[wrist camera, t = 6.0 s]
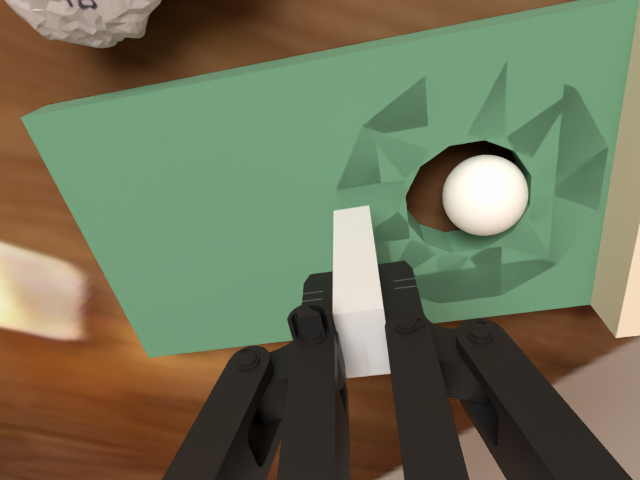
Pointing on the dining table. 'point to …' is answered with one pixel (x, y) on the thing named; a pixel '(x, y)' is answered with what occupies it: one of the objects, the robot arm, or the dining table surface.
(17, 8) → the fossil
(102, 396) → the dining table surface
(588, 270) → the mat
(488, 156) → the ball
